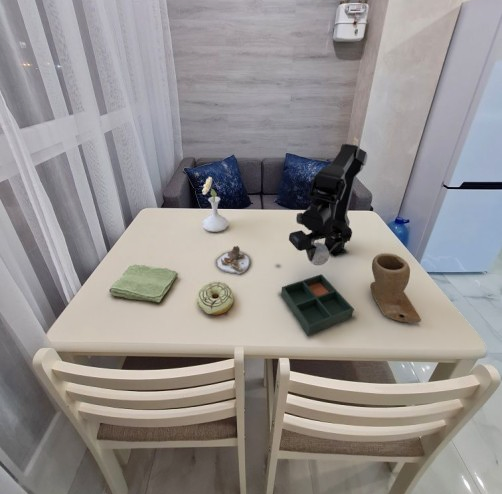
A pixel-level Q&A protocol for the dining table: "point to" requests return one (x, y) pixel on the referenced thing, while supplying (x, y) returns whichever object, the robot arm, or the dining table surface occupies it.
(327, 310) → the grid
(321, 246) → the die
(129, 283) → the washcloth
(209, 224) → the flower in vase
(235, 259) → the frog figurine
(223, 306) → the decorated donut
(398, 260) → the clay platform pipe
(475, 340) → the dining table surface
